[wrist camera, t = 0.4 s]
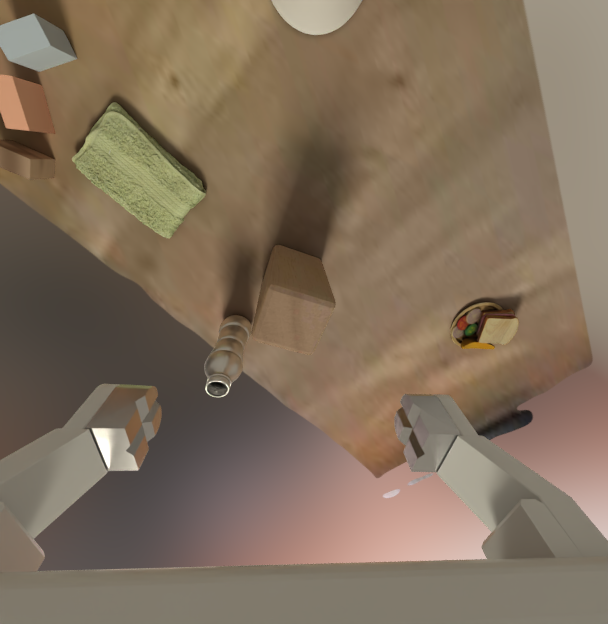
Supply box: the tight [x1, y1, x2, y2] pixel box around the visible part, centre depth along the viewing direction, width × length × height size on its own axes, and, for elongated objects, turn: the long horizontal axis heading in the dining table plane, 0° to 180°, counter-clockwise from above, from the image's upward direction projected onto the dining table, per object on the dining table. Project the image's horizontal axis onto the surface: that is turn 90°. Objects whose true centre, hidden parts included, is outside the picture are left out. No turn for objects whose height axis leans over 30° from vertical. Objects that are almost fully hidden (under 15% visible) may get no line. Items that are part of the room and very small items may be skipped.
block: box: [251, 245, 335, 355], centre depth 47 cm, size 10×10×20 cm
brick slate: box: [0, 13, 77, 72], centre depth 36 cm, size 6×3×5 cm, turn 104°
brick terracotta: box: [0, 75, 55, 134], centre depth 39 cm, size 6×3×5 cm, turn 174°
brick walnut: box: [0, 140, 55, 180], centre depth 42 cm, size 6×3×5 cm, turn 64°
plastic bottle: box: [205, 315, 251, 397], centre depth 52 cm, size 6×7×20 cm
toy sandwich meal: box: [451, 302, 519, 349], centre depth 63 cm, size 12×14×5 cm
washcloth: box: [72, 102, 206, 239], centre depth 45 cm, size 13×18×3 cm
